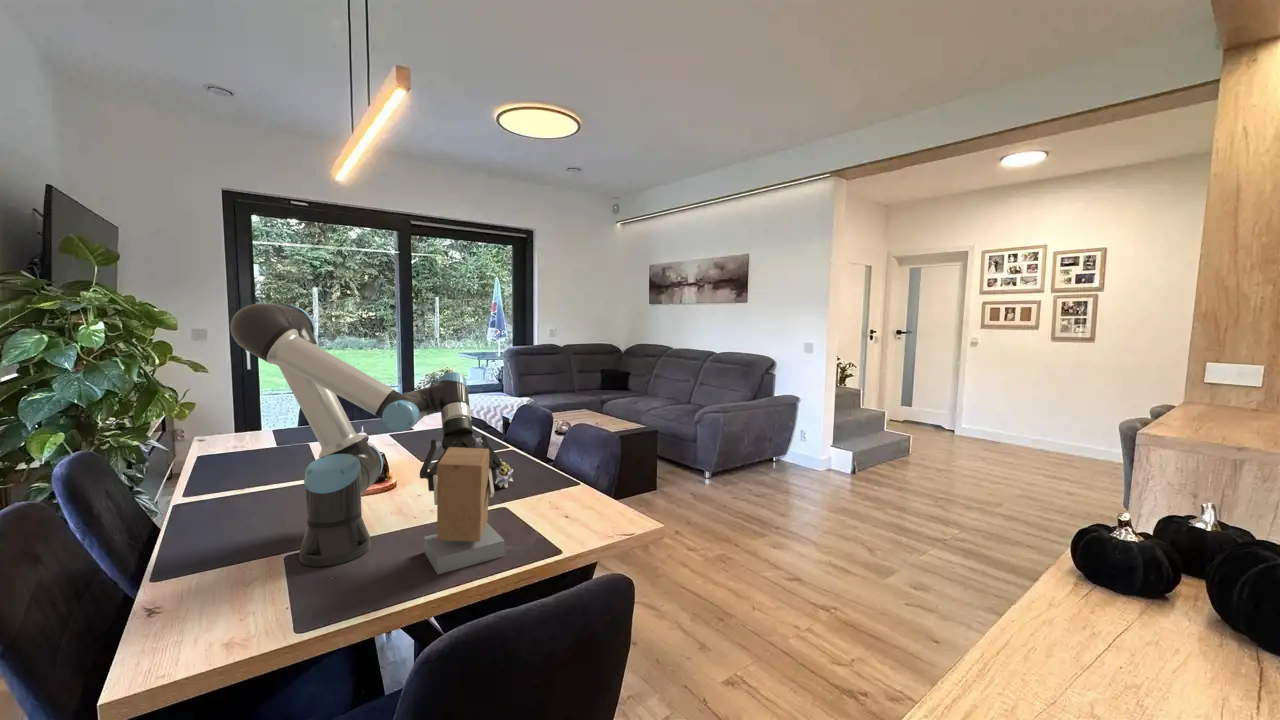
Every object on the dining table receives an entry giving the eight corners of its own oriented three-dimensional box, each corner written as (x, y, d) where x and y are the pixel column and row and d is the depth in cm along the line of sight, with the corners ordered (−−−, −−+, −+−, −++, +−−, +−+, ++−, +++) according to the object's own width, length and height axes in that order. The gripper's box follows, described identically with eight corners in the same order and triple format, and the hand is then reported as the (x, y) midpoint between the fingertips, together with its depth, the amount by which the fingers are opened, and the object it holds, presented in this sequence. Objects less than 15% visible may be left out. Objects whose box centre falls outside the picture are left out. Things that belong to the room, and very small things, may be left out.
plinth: (437, 574, 116) (437, 558, 116) (424, 552, 127) (423, 536, 126) (504, 556, 126) (504, 540, 125) (487, 536, 136) (486, 522, 136)
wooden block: (480, 542, 121) (481, 465, 116) (436, 541, 120) (436, 463, 115) (488, 519, 130) (489, 448, 126) (448, 518, 129) (448, 446, 125)
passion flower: (505, 502, 174) (499, 482, 166) (477, 494, 176) (470, 473, 168) (520, 476, 182) (516, 456, 174) (493, 468, 184) (488, 448, 176)
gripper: (501, 427, 142) (513, 498, 130) (406, 435, 132) (409, 512, 120) (505, 412, 137) (517, 484, 125) (406, 419, 127) (409, 499, 114)
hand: (465, 498), depth 122 cm, fingers closed on wooden block, 12 cm apart
